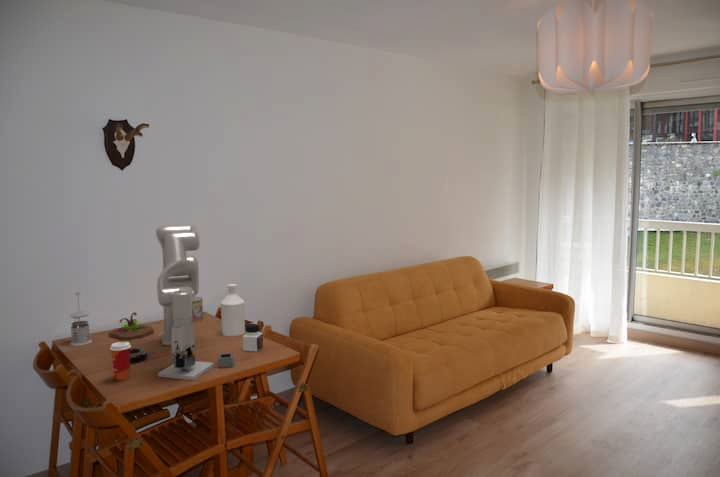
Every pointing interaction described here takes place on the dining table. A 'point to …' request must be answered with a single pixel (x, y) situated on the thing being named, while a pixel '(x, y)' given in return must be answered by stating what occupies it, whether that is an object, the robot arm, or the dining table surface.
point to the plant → (131, 330)
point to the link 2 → (225, 360)
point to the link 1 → (187, 362)
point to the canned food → (197, 309)
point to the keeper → (186, 370)
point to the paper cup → (121, 360)
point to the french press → (80, 328)
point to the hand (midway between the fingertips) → (184, 364)
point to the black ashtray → (137, 355)
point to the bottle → (233, 313)
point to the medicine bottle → (252, 338)
